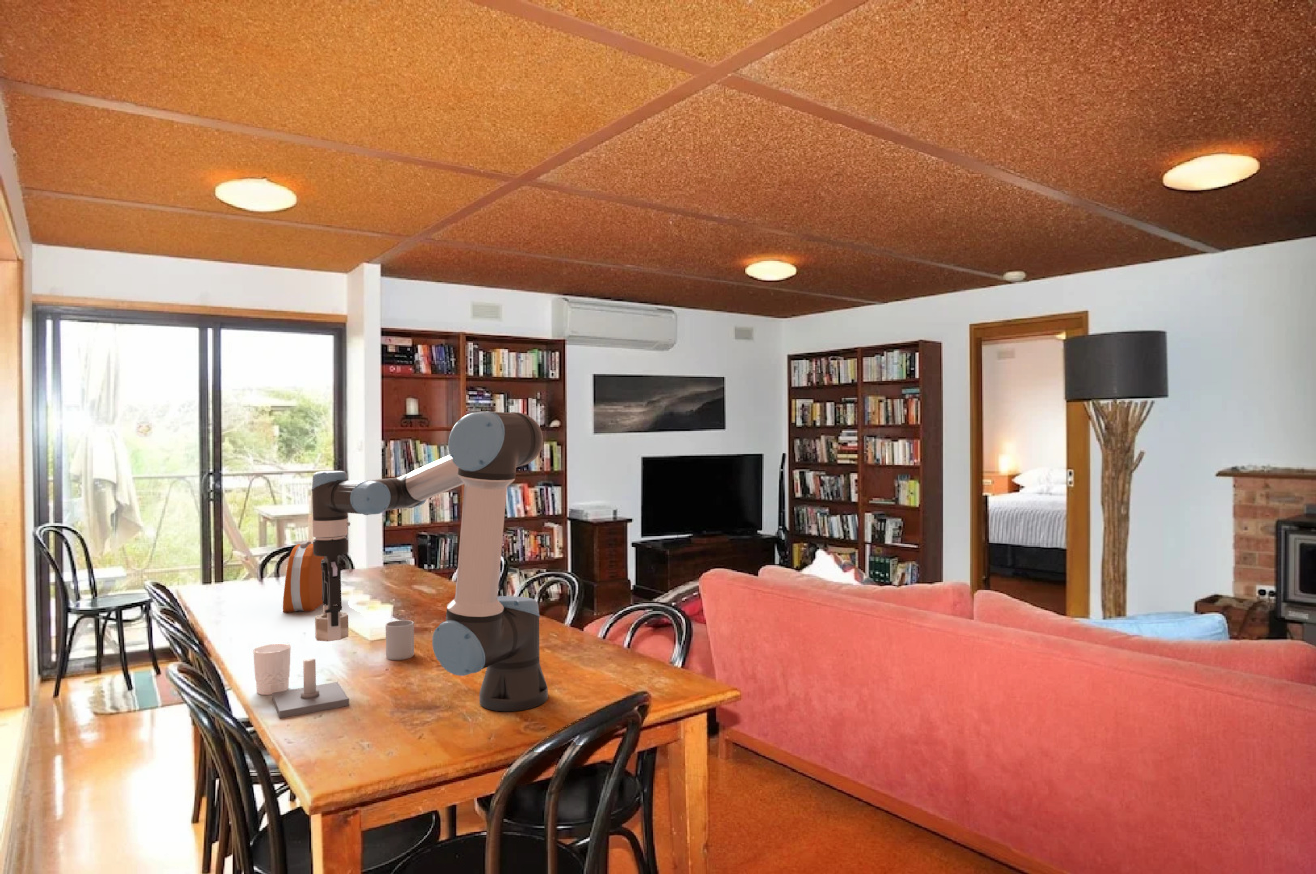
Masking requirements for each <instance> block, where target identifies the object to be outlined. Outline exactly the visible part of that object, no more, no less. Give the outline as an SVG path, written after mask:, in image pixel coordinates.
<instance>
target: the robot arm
mask: <svg viewBox="0 0 1316 874" xmlns="http://www.w3.org/2000/svg"><path fill="white" fill-rule="evenodd" d="M543 444H544V436H543V432H542V429H541V427H540V425H539V423H538V422H537V421H536V420H535V419H534V418H533V417H531V416H529V415H528V414H525V413H523V412H517V411H515V412H513V411H512V412H505V411H504V412H502V411H501V412H500V411H482V410H481V411H478V412H470V413H468V414H466V415H464V416H462V417H461V418H460V419H459V420H458V421H456V423H455V424H454V426H453V427H452V428H451V431H450V433H449V437H448V442H447V447H448V453H449V454H448V455H446V456H444V457H441V458H439V459H437V460H435V461H432V462H430V463H428V464H425V465H423V466H421V467H419V468H417V469H414V470H412V471H410V472H408V473H405V474H403V475H401V476H397V477H391V478H389V477H388V478H387V477H386V478H379V479H378V478H377V479H367V480H366V479H365V480H348V474H347V472H346V471H344V470H325V471H324V470H322V471H321V470H320V471H316V472H314V473H313V475H312V481H311V482H312V486H311V495H312V497H311V499H312V500H311V503H312V537H313V538H314V539H313V541H312V544H313V554H314V555H315V556H322V557H323V556H324V559H323V560H322V561H321V569H322V601H323V604H322V610H323V611H322V612H323V613H322V614H324V613H327V624H328V641H327V642H333V641H332V640H335V641H340V640H339V639H341V617H340V612H341V611H342V610H343V606H342V605H343V604H342V578H341V575H342V573H341V572H342V562H340V561H339V558H338V557H339V556H344V555H346V554H348V552H349V538H347V537H346V536H347V535H349V534H348V527H351V522H350V521H348V516H349V515H348V514H357V515H363V516H370V515H371V516H372V515H379V514H382V513H383V512H387V511H394V510H402V509H412V508H415V507H419V506H423V504H426V501H427V500H428V499H431V498H433V497H435V496H438V495H440V494H442V493H445V492H447V491H450V490H452V489H453V490H454V489H455V488H457V487H460V486H463V485H464V488H463V499H462V511H461V512H462V513H461V523H460V537H459V549H458V562H457V571H456V573H457V574H456V582H455V583H456V584H455V596H454V598H453V599H451V601H450V602H449V603H447V604H446V612H445V614H446V615H445V621H441V623H440V624H439V625H438V626H437V627H436V628H435V629H434V632H433V634H432V638H431V641H432V643H431V645H432V651H433V653H434V655H435V658H436V660H437V661H438V662H439V663H440V665H441V667H442V668H443V669H444V670H445V671H446V672H448V673H450V674H452V675H455V676H460V677H462V676H463V677H464V676H468V675H471V674H475V673H476V674H477V673H479V672H481V670H483V669H484V670H485V668H486V670H485V674H484V677H483V680H482V682H481V687H480V690H479V694H478V695H479V697H478V699H479V705H480V706H481V707H483V708H484V709H487V710H491V711H494V712H496V711H497V712H518V711H524V710H530V709H534V708H536V707H539V706H541V705H543V704H544V703H546V702H547V700H548V699H549V688H548V684H547V681H546V678H545V676H544V674H543V669H542V666H541V664H540V662H541V661H540V659H541V658H540V617H541V615H540V610H539V603H538V601H537V600H536V599H534V598H532V597H526V596H525V597H523V596H515V595H514V596H509V595H508V596H507V595H506V596H505V595H502V596H501V595H500V596H499V585H500V573H501V572H500V571H501V570H500V569H501V561H502V560H501V559H502V547H503V537H504V527H505V526H504V525H505V514H506V502H507V489H508V487H509V486H510V485H511V484H513V482H514V481H515V480H516V473H517V468H518V467H522V466H525V465H528V464H531V463H532V462H533V461H534V460H536V458H538V456H539V455H540V453H541V451H542V448H543ZM341 640H342V639H341Z"/></svg>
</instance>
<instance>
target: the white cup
mask: <svg viewBox="0 0 1316 874" xmlns="http://www.w3.org/2000/svg"><path fill="white" fill-rule="evenodd" d="M291 650H292V649H291V644H287V643H271V644H266V645H260V646H258V647H256V648H254V649H253V651H252V653H253V665H254V677H255V678H254V679H255V681H256V683H255V687H256V693H257V694H258V695H261V696H272V693H274V692H280V691H286V690H289V688H290V687H289V686H290V685H289V684H290V671H291Z"/></svg>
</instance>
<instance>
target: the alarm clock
mask: <svg viewBox="0 0 1316 874" xmlns="http://www.w3.org/2000/svg"><path fill="white" fill-rule="evenodd" d="M323 559H324V556H323V557H322V556H315V555H314V554H313V543H312V541H310V540H308V541H307V540H306V541H304V540H303V541H302V542H301V543H298V544H295V546H294V547H293V548H292V550H291V552H290V554H289V557H288V561H287V566H286V573H285V579H284V586H283V588H284V589H283V599H282V612H283V613H295V612H297V611H303V612H313V611H315V610H316V609H318V608H319V607H320V606H323V601H322V569H321V561H322V560H323Z"/></svg>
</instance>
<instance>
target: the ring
mask: <svg viewBox="0 0 1316 874" xmlns="http://www.w3.org/2000/svg"><path fill="white" fill-rule="evenodd" d="M340 617H341V639H339V640H338V641H341V640H344V639H346V638H349V614H348V613H347V612H341V611H340ZM314 620H315V621H314V624H315V627H314V629H315V630H314V632H315V640H316V641H318V642H329V641H328V624H327V613H324V614H323V613H321V614H318V615H315V617H314ZM334 641H336V640H332V641H331V642H334Z"/></svg>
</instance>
